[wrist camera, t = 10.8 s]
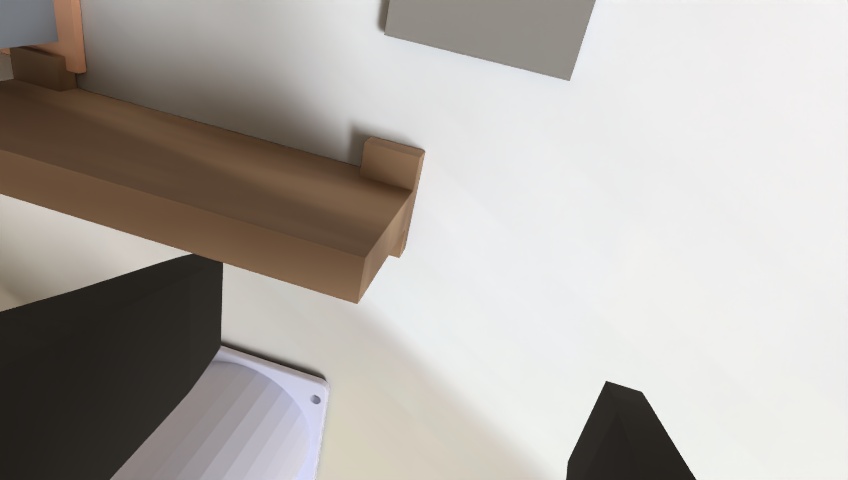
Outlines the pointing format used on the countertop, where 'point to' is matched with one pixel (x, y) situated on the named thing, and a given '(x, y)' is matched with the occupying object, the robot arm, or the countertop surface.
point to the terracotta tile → (66, 36)
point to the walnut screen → (203, 182)
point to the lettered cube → (27, 23)
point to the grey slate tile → (498, 30)
